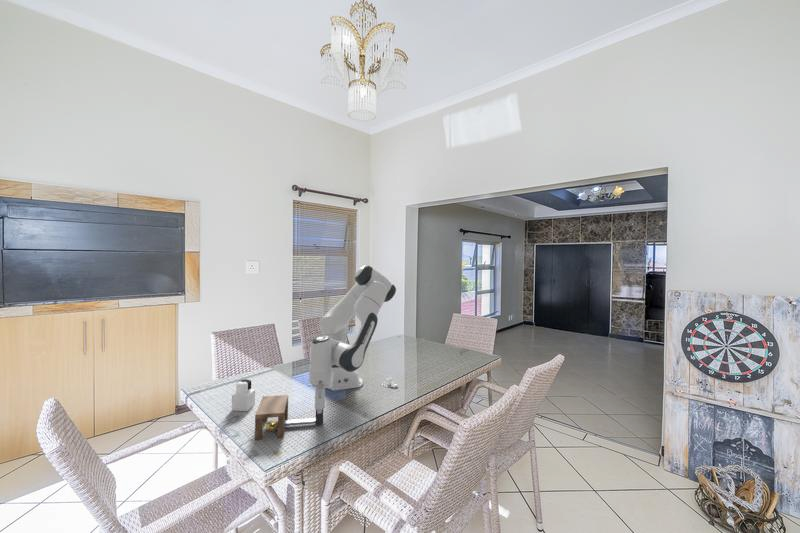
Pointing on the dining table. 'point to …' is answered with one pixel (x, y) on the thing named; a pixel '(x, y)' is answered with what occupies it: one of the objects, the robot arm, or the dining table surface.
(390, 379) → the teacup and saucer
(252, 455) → the dining table surface
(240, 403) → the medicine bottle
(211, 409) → the dining table surface
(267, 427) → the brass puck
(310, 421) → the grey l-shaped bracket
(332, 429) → the dining table surface
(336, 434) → the dining table surface
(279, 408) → the wooden arch block
